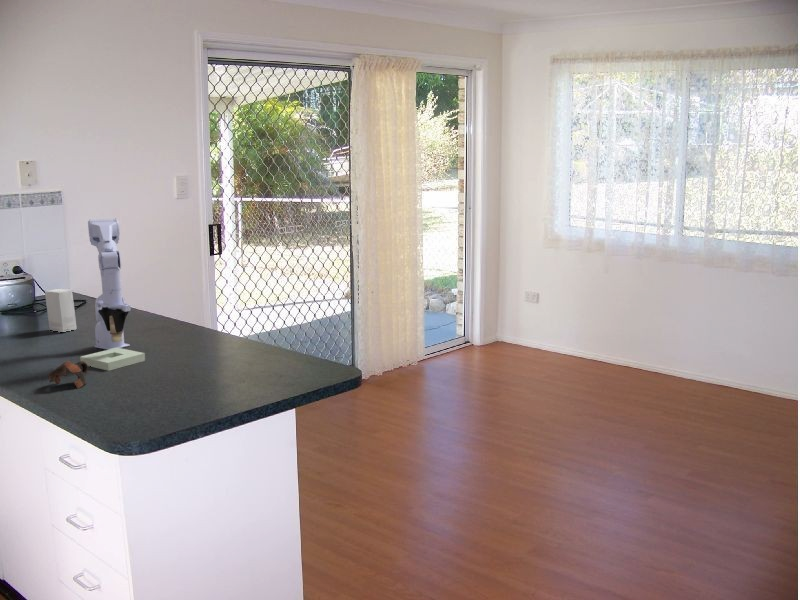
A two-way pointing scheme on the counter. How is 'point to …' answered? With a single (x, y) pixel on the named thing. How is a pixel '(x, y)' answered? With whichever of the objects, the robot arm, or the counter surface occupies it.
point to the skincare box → (60, 310)
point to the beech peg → (114, 332)
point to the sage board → (113, 358)
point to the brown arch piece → (72, 368)
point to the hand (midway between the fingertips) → (115, 331)
